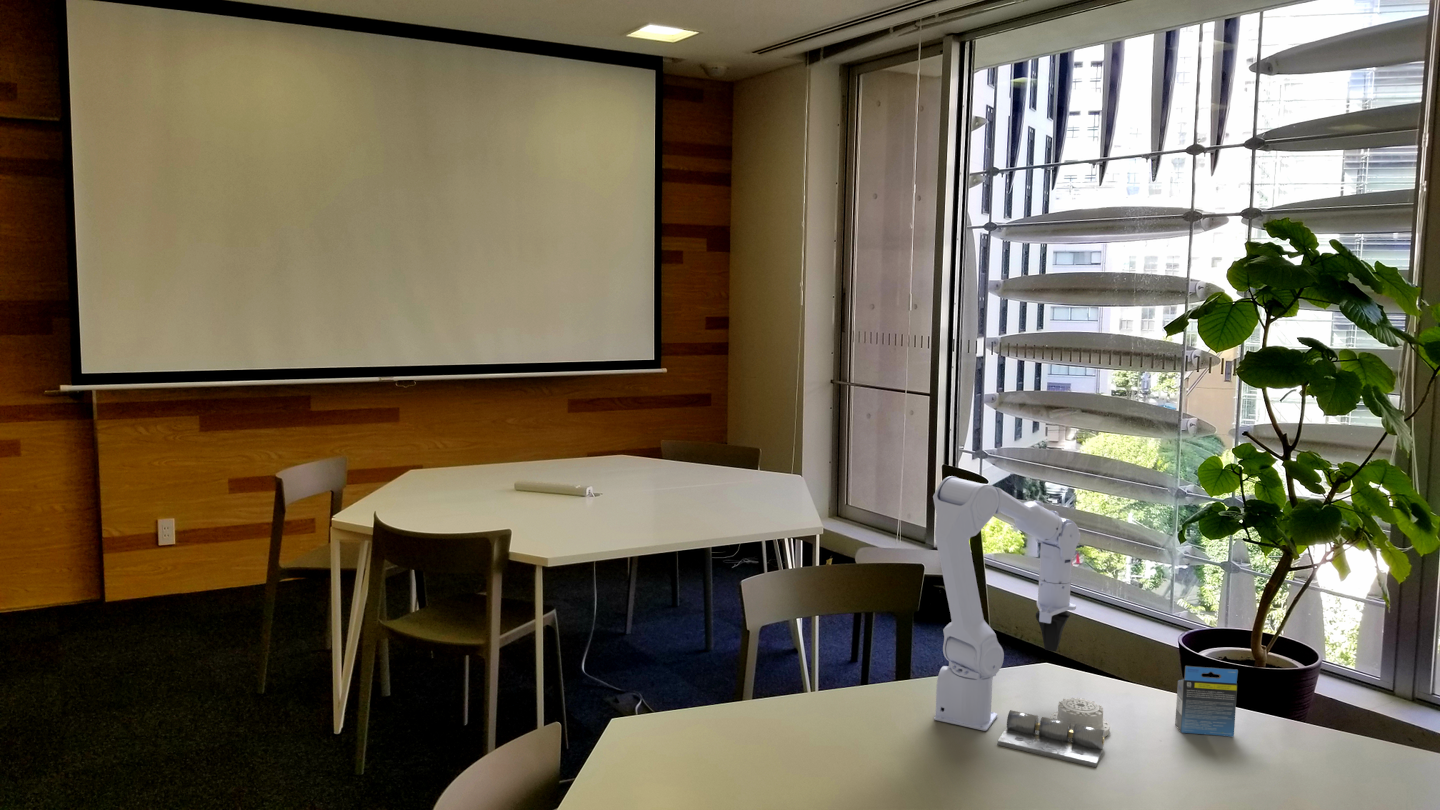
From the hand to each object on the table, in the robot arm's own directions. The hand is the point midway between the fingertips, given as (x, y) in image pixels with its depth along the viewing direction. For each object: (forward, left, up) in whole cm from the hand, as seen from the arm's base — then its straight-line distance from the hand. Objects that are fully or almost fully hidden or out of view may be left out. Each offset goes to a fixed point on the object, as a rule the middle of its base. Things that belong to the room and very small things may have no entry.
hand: (1051, 649), depth 195 cm
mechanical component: (+8, -11, -10) cm, 17 cm away
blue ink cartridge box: (+27, -1, -10) cm, 29 cm away
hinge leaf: (+5, -22, -9) cm, 24 cm away
